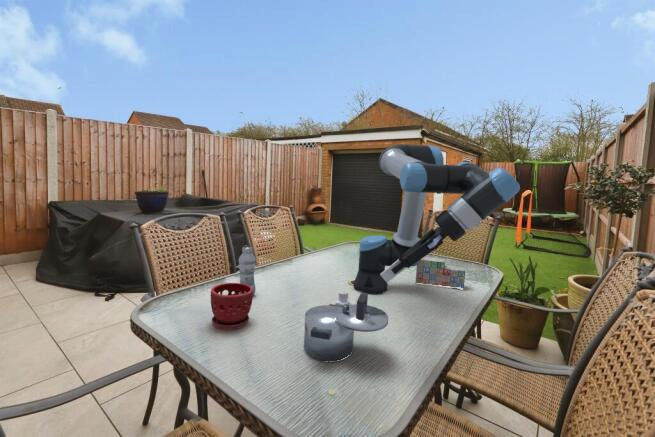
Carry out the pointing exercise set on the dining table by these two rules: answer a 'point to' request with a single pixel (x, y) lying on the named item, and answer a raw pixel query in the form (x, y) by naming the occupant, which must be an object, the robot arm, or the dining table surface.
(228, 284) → the plant pot
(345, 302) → the salt shaker
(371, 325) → the lid
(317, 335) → the pot
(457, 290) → the dining table surface
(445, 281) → the stack of blocks
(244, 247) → the plastic bottle
